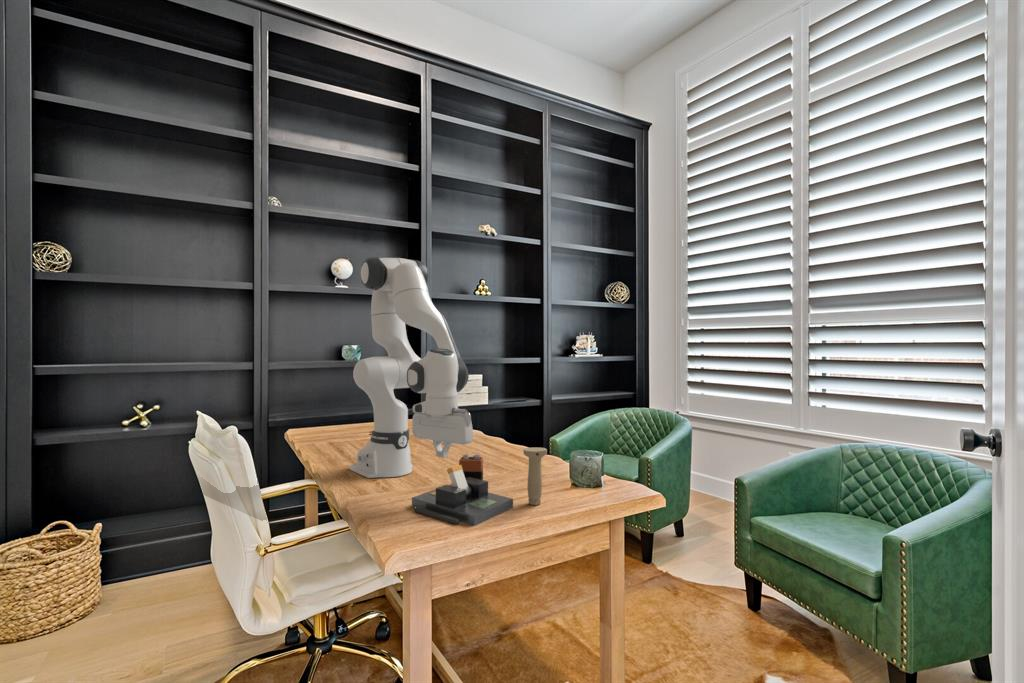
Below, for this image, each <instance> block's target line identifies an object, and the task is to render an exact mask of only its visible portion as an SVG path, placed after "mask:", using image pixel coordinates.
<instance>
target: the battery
mask: <svg viewBox="0 0 1024 683" xmlns="http://www.w3.org/2000/svg"><path fill="white" fill-rule="evenodd" d="M458 465H462V468H463V469H462V470H463V473H464V476H465V478H468V477H471V478H475V479H480V480H484V458H483V457H482V456H481V455H480V454H473V455H472V456H469V455H466V454H464V455H462V456H461V457H460V459H459V461H458Z"/></svg>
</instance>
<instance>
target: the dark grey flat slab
mask: <svg viewBox="0 0 1024 683" xmlns="http://www.w3.org/2000/svg"><path fill="white" fill-rule="evenodd" d="M413 511H414V512H415V513H418V514H422V515H424V516H427V517H431V518H434V519H436V520H441V521H443V522H447V523H450V524H453V525H458V524H460V521H459V520H458V519H455V518H451V517H448V516H445V515H441V514H438V513H435V512H431V511H428V510H425V509H421V508H418V507H416V508H415V507H414V509H413Z"/></svg>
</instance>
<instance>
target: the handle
mask: <svg viewBox="0 0 1024 683" xmlns="http://www.w3.org/2000/svg"><path fill="white" fill-rule="evenodd" d="M547 454H548V449H547V448H545V447H540V446H539V447H525V448H523V455H524V456H525V457H527V458H528V472H527V497H528V504H529V505H531V506H538V505H540V504H541V503H542V502H541V501H542V500H541V499H542V493H543V492H542V491H543V477H542V476H543V475H542V458H543V457H545V456H547Z"/></svg>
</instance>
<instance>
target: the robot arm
mask: <svg viewBox="0 0 1024 683" xmlns="http://www.w3.org/2000/svg"><path fill="white" fill-rule="evenodd" d="M360 278H361V282H362V285H364V287H365V288H366V289H370V290H372V293H371V294H372V295H371V302H370V303H371V307H370V308H371V309H370V315H371V318H370V319H371V333H372V334H371V336H372V338H373V341H374V342H375V343H376V344H377V345H379V346H381V347H383V348H384V349H385V351H386V352H387V355H386V356H371V357H367V358H363V359H360V360H357V362H356V364H355V365H354V367H353V372H352V373H353V374H352V376H353V380H354V382H355V385H357V387H358V388H359V389H361V390H362V391H364V392H365V394H366V395H367V396H368V398H369V400H370V402H371V406H372V409H373V430H371V431H368V433H370V434H368V436H370V440H369V442H367V443H366V444H365V445H364V446H363V447H362V448H361V449H359V450H358V452H357V454H356V463H354V464H351V465H349V467H348V468H349V469H348V470H350V471H352V472H354V473H356V474H358V475H360V476H363V477H365V478H367V479H373V478H395V477H401V476H406V475H408V474H411V473H412V472H413V467H414V465H413V463H412V459H411V458H412V457H411V448H410V444H409V440H410V429H409V409H408V407H407V405H406V403H404V402H403V401H401V400H400V399H398V398H396V396H395V393H394V390H395V389H396V390H397V389H409V388H410V390H411V391H412V392H414V393H417V394H425V400H423V401H422V402H419V403H416V404H415V403H414V404H413V406H412V412H413V415H412V421H411V422H412V424H411V425H412V428H411V429H412V435H413V436H414V438H417V439H424V440H429V441H432V444H433V447H434V450H435V456H436V457H437V458H443V459H445V458H448V456H449V450H450V448H451V446H452V444H457V445H463V446H464V445H467V444H468V445H469V444H471V443H473V440H474V432H473V430H474V429H473V424H472V423H473V422H472V415H471V413H470V412H469V411H468V410H467V409H466V408H459V403H458V402H459V399H458V398H459V395H458V393H460V392H461V391H462V390H463V389H464V388H465V386H466V385H467V384H468V382H469V376H470V375H469V370H468V368H467V366H466V364H465V361H464V360H463V359H462V356H461V355H460V352H459V349H458V346H457V344H456V341H455V339H454V336H453V334H452V332H451V329H450V326H449V324H448V321H447V319H446V317H445V316H444V314H443V313H441V312H440V311H439V310H438V309H437V308H436V306H435V305H434V303H433V301H432V299H431V297H430V292H429V288H428V285H427V284H428V281H429V270H428V267H427V265H426V264H425V263H424V262H422V261H420V260H416V259H407V258H401V257H378V256H374V257H373V256H372V257H368V258H366V259H365V260H364V261H363V262H362V264H361V268H360ZM406 325H408V326H409V327H413V328H416V329H419V330H421V331H423V332H425V333H427V334H428V335H430V336H431V337H432V338H433V340H435V344H436V346H437V348H431V349H428V351H427V352H426V355H425V356H423V358H421V357H419V355H417V354H416V353H415V351H414V349H413V348H412V346H411V344H410V342H409V339H408V335H407V329H406ZM441 444H442V445H441ZM442 446H443V447H442Z"/></svg>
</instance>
